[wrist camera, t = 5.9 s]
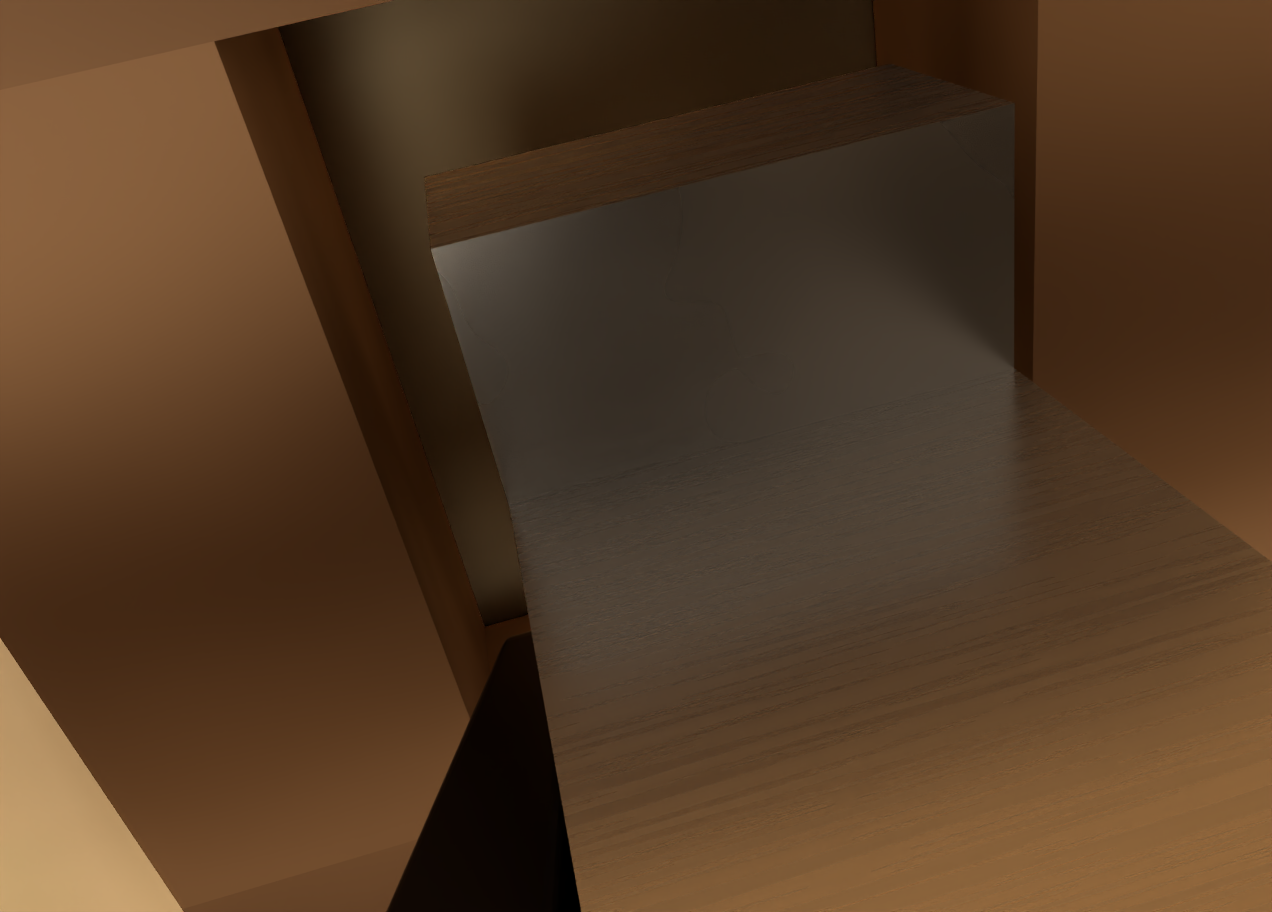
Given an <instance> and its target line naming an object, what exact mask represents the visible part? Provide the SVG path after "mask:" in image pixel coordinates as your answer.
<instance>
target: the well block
mask: <svg viewBox="0 0 1272 912" xmlns="http://www.w3.org/2000/svg"><path fill="white" fill-rule="evenodd" d="M389 1H393V0H0V638H1V639H2V641H3V642H4V644H5V645H6V647H7V648H8V650H9V651H10V653H11V654H12V656H13V657H14V659H15V660H16V662H17V663H18V665H19V666H20V668H21V669H22V671H23V672H24V674H25V675H26V677H27V678H28V680H29V681H30V683H31V684H32V686H33V687H34V689H35V690H36V692H37V693H38V695H39V696H40V698H41V699H42V701H43V702H44V704H45V705H46V707H47V708H48V710H49V711H50V713H51V714H52V716H53V717H54V719H55V720H56V722H57V723H58V725H59V726H60V728H61V729H62V731H63V732H64V733H65V735H66V736H67V738H68V739H69V741H70V742H71V744H72V745H73V747H74V748H75V750H76V751H77V753H78V754H79V756H80V757H81V759H82V760H83V762H84V763H85V765H86V766H87V768H88V769H89V771H90V772H91V774H92V775H93V777H94V778H95V780H96V781H97V783H98V784H99V786H100V787H101V789H102V790H103V792H104V793H105V795H106V796H107V798H108V799H109V801H110V802H111V804H112V805H113V807H114V808H115V810H116V811H117V813H118V814H119V816H120V817H121V819H122V820H123V822H124V823H125V825H126V826H127V828H128V829H129V831H130V832H131V834H132V835H133V837H134V838H135V839H136V841H137V842H138V844H139V845H140V847H141V848H142V850H143V851H144V853H145V854H146V856H147V857H148V859H149V860H150V862H151V863H152V865H153V866H154V868H155V869H156V871H157V872H158V874H159V875H160V877H161V878H162V880H163V881H164V883H165V884H166V886H167V887H168V889H169V890H170V892H171V893H172V895H173V896H174V898H175V899H176V901H177V902H178V904H179V905H180V907H181V908H182V910H183V911H184V912H386V911H387V909H388V906H389V904H390V902H391V900H392V897H393V895H394V893H395V890H396V888H397V886H398V884H399V881H400V879H401V877H402V874H403V872H404V870H405V867H406V865H407V863H408V861H409V858H410V856H411V854H412V851H413V849H414V847H415V845H416V842H417V840H418V838H419V835H420V833H421V831H422V828H423V826H424V824H425V822H426V819H427V817H428V815H429V812H430V810H431V808H432V806H433V803H434V801H435V799H436V796H437V794H438V792H439V789H440V787H441V785H442V783H443V780H444V778H445V776H446V773H447V771H448V769H449V767H450V764H451V762H452V760H453V757H454V755H455V753H456V750H457V748H458V746H459V744H460V741H461V739H462V737H463V734H464V732H465V730H466V728H467V725H468V723H469V721H470V718H471V716H472V714H473V711H474V709H475V707H476V705H477V702H478V700H479V698H480V695H481V693H482V691H483V688H484V686H485V684H486V682H487V679H488V677H489V675H490V672H491V670H492V668H493V666H494V663H495V661H496V659H497V656H498V654H499V652H500V649H501V647H502V645H503V643H504V641H505V640H506V639H507V638H509V637H511V636H514V635H517V634H521V633H524V632H528V631H531V627H530V621H529V615H525V616H522V617H518V618H515V619H511V620H508V621H504V622H500V623H497V624H493V625H490V626H486V627H485V626H484V623H483V620H482V618H481V615H480V612H479V609H478V606H477V603H476V600H475V597H474V594H473V591H472V589H471V586H470V583H469V580H468V577H467V574H466V571H465V568H464V565H463V562H462V560H461V557H460V554H459V551H458V548H457V545H456V542H455V539H454V536H453V533H452V531H451V528H450V525H449V522H448V519H447V516H446V513H445V510H444V507H443V504H442V502H441V499H440V496H439V493H438V490H437V487H436V484H435V481H434V478H433V475H432V473H431V470H430V467H429V464H428V461H427V458H426V455H425V452H424V449H423V446H422V444H421V441H420V438H419V435H418V432H417V429H416V426H415V423H414V420H413V417H412V415H411V412H410V409H409V406H408V403H407V400H406V397H405V394H404V391H403V388H402V386H401V383H400V380H399V377H398V374H397V371H396V368H395V365H394V362H393V359H392V357H391V354H390V351H389V348H388V345H387V342H386V339H385V336H384V333H383V330H382V328H381V325H380V322H379V319H378V316H377V313H376V310H375V307H374V304H373V302H372V299H371V296H370V293H369V290H368V287H367V284H366V281H365V278H364V275H363V273H362V270H361V267H360V264H359V261H358V258H357V255H356V252H355V249H354V246H353V244H352V241H351V238H350V235H349V232H348V229H347V226H346V223H345V220H344V217H343V215H342V212H341V209H340V206H339V203H338V200H337V197H336V194H335V191H334V188H333V186H332V183H331V180H330V177H329V174H328V171H327V168H326V165H325V162H324V159H323V157H322V154H321V151H320V148H319V145H318V142H317V139H316V136H315V133H314V130H313V128H312V125H311V122H310V119H309V116H308V113H307V110H306V107H305V104H304V101H303V99H302V96H301V93H300V90H299V87H298V84H297V81H296V78H295V75H294V72H293V70H292V67H291V64H290V61H289V58H288V55H287V52H286V49H285V46H284V43H283V41H282V38H281V35H280V32H279V29H278V27H279V26H284V25H288V24H292V23H297V22H301V21H306V20H310V19H314V18H319V17H323V16H327V15H332V14H336V13H341V12H345V11H349V10H354V9H358V8H363V7H367V6H371V5H376V4H380V3H385V2H389ZM873 9H874V25H875V41H876V57H877V66H881V65H886V64H894V65H897V66H900V67H903V68H906V69H909V70H912V71H916V72H919V73H922V74H925V75H928V76H931V77H934V78H938V79H941V80H944V81H947V82H950V83H953V84H956V85H960V86H963V87H966V88H969V89H972V90H975V91H978V92H982V93H985V94H988V95H991V96H994V97H997V98H1000V99H1004V100H1007V101H1010V102H1013V103H1015V141H1014V368H1015V369H1016V370H1017V371H1019V372H1020V373H1021V374H1023V375H1024V376H1025V377H1027V378H1028V379H1029V380H1031V381H1032V382H1033V383H1035V384H1036V385H1037V386H1039V387H1040V388H1041V389H1043V390H1044V391H1045V392H1047V393H1048V394H1049V395H1051V396H1052V397H1053V398H1055V399H1056V400H1057V401H1059V402H1060V403H1061V404H1063V405H1064V406H1065V407H1067V408H1068V409H1069V410H1071V411H1072V412H1073V413H1074V414H1076V415H1077V416H1078V417H1080V418H1081V419H1082V420H1084V421H1085V422H1086V423H1088V424H1089V425H1090V426H1092V427H1093V428H1094V429H1096V430H1097V431H1098V432H1100V433H1101V434H1102V435H1104V436H1105V437H1106V438H1108V439H1109V440H1110V441H1112V442H1113V443H1114V444H1116V445H1117V446H1118V447H1120V448H1121V449H1122V450H1124V451H1125V452H1126V453H1128V454H1129V455H1130V456H1132V457H1133V458H1134V459H1136V460H1137V461H1138V462H1140V463H1141V464H1142V465H1144V466H1145V467H1146V468H1148V469H1149V470H1150V471H1152V472H1153V473H1154V474H1156V475H1157V476H1158V477H1160V478H1161V479H1162V480H1164V481H1165V482H1166V483H1168V484H1169V485H1170V486H1172V487H1173V488H1174V489H1176V490H1177V491H1178V492H1180V493H1181V494H1182V495H1184V496H1185V497H1186V498H1188V499H1189V500H1190V501H1192V502H1193V503H1194V504H1196V505H1197V506H1198V507H1200V508H1201V509H1202V510H1204V511H1205V512H1206V513H1208V514H1209V515H1210V516H1212V517H1213V518H1214V519H1216V520H1217V521H1218V522H1220V523H1221V524H1222V525H1224V526H1225V527H1226V528H1228V529H1229V530H1230V531H1232V532H1233V533H1234V534H1236V535H1237V536H1238V537H1240V538H1241V539H1242V540H1243V541H1245V542H1246V543H1247V544H1249V545H1250V546H1251V547H1253V548H1254V549H1255V550H1257V551H1258V552H1259V553H1261V554H1262V555H1263V556H1265V557H1266V558H1267V559H1269V560H1270V561H1271V562H1272V0H873Z"/></svg>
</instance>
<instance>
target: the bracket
mask: <svg viewBox="0 0 1272 912" xmlns="http://www.w3.org/2000/svg"><path fill="white" fill-rule="evenodd" d="M1014 141H1015V103H1013V102H1010V101H1007V100H1004V99H1000V98H997V97H994V96H991V95H988V94H985V93H982V92H978V91H975V90H972V89H969V88H966V87H963V86H960V85H956V84H953V83H950V82H947V81H944V80H941V79H938V78H934V77H931V76H928V75H925V74H922V73H919V72H916V71H912V70H909V69H906V68H903V67H900V66H897V65H894V64H886V65H881V66H877V67H873V68H869V69H865V70H861V71H857V72H853V73H849V74H845V75H840V76H836V77H832V78H828V79H824V80H820V81H816V82H812V83H808V84H804V85H799V86H795V87H791V88H787V89H783V90H779V91H775V92H771V93H767V94H763V95H759V96H754V97H750V98H746V99H742V100H738V101H734V102H730V103H726V104H722V105H718V106H713V107H709V108H705V109H701V110H697V111H693V112H689V113H685V114H681V115H677V116H672V117H668V118H664V119H660V120H656V121H652V122H648V123H644V124H640V125H636V126H631V127H627V128H623V129H619V130H615V131H611V132H607V133H603V134H599V135H595V136H590V137H586V138H582V139H578V140H574V141H570V142H566V143H562V144H558V145H554V146H550V147H545V148H541V149H537V150H533V151H529V152H525V153H521V154H517V155H513V156H509V157H504V158H500V159H496V160H492V161H488V162H484V163H480V164H476V165H472V166H468V167H463V168H459V169H455V170H451V171H447V172H443V173H439V174H435V175H431V176H427V177H425V190H426V202H427V214H428V226H429V238H430V249H431V253H432V256H433V259H434V262H435V266H436V269H437V272H438V275H439V279H440V282H441V285H442V289H443V292H444V295H445V298H446V302H447V305H448V308H449V311H450V315H451V318H452V321H453V325H454V328H455V331H456V334H457V338H458V341H459V344H460V347H461V351H462V354H463V357H464V361H465V364H466V367H467V370H468V374H469V377H470V380H471V383H472V387H473V390H474V393H475V397H476V400H477V403H478V406H479V410H480V413H481V416H482V419H483V423H484V426H485V429H486V433H487V436H488V439H489V442H490V446H491V449H492V452H493V455H494V459H495V462H496V465H497V468H498V472H499V475H500V478H501V482H502V485H503V488H504V491H505V495H506V498H507V501H508V504H509V509H510V515H511V520H512V526H513V531H514V537H515V543H516V548H517V554H518V559H519V565H520V571H521V576H522V582H523V587H524V593H525V599H526V604H527V610H528V615H529V621H530V627H531V632H532V638H533V643H534V649H535V655H536V660H537V666H538V671H539V677H540V683H541V688H542V694H543V699H544V705H545V711H546V716H547V722H548V727H549V733H550V739H551V744H552V750H553V755H554V761H555V767H556V772H557V778H558V783H559V789H560V795H561V800H562V806H563V811H564V817H565V823H566V828H567V834H568V839H569V845H570V851H571V856H572V862H573V867H574V873H575V879H576V884H577V890H578V895H579V901H580V907H581V912H1272V562H1271V561H1270V560H1269V559H1267V558H1266V557H1265V556H1263V555H1262V554H1261V553H1259V552H1258V551H1257V550H1255V549H1254V548H1253V547H1251V546H1250V545H1249V544H1247V543H1246V542H1245V541H1243V540H1242V539H1241V538H1240V537H1238V536H1237V535H1236V534H1234V533H1233V532H1232V531H1230V530H1229V529H1228V528H1226V527H1225V526H1224V525H1222V524H1221V523H1220V522H1218V521H1217V520H1216V519H1214V518H1213V517H1212V516H1210V515H1209V514H1208V513H1206V512H1205V511H1204V510H1202V509H1201V508H1200V507H1198V506H1197V505H1196V504H1194V503H1193V502H1192V501H1190V500H1189V499H1188V498H1186V497H1185V496H1184V495H1182V494H1181V493H1180V492H1178V491H1177V490H1176V489H1174V488H1173V487H1172V486H1170V485H1169V484H1168V483H1166V482H1165V481H1164V480H1162V479H1161V478H1160V477H1158V476H1157V475H1156V474H1154V473H1153V472H1152V471H1150V470H1149V469H1148V468H1146V467H1145V466H1144V465H1142V464H1141V463H1140V462H1138V461H1137V460H1136V459H1134V458H1133V457H1132V456H1130V455H1129V454H1128V453H1126V452H1125V451H1124V450H1122V449H1121V448H1120V447H1118V446H1117V445H1116V444H1114V443H1113V442H1112V441H1110V440H1109V439H1108V438H1106V437H1105V436H1104V435H1102V434H1101V433H1100V432H1098V431H1097V430H1096V429H1094V428H1093V427H1092V426H1090V425H1089V424H1088V423H1086V422H1085V421H1084V420H1082V419H1081V418H1080V417H1078V416H1077V415H1076V414H1074V413H1073V412H1072V411H1071V410H1069V409H1068V408H1067V407H1065V406H1064V405H1063V404H1061V403H1060V402H1059V401H1057V400H1056V399H1055V398H1053V397H1052V396H1051V395H1049V394H1048V393H1047V392H1045V391H1044V390H1043V389H1041V388H1040V387H1039V386H1037V385H1036V384H1035V383H1033V382H1032V381H1031V380H1029V379H1028V378H1027V377H1025V376H1024V375H1023V374H1021V373H1020V372H1019V371H1017V370H1016V369H1015V368H1014Z"/></svg>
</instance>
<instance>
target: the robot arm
mask: <svg viewBox="0 0 1272 912" xmlns="http://www.w3.org/2000/svg"><path fill="white" fill-rule="evenodd" d="M386 912H581V907H580V901H579V895H578V890H577V884H576V879H575V873H574V867H573V862H572V856H571V851H570V845H569V839H568V834H567V828H566V823H565V817H564V811H563V806H562V800H561V795H560V789H559V783H558V778H557V772H556V767H555V761H554V755H553V750H552V744H551V739H550V733H549V727H548V722H547V716H546V711H545V705H544V699H543V694H542V688H541V683H540V677H539V671H538V666H537V660H536V655H535V649H534V643H533V638H532V632H531V631H528V632H524V633H521V634H517V635H514V636H511V637H509V638H507V639H506V640H505V641H504V643H503V645H502V647H501V649H500V652H499V654H498V656H497V659H496V661H495V663H494V666H493V668H492V670H491V672H490V675H489V677H488V679H487V682H486V684H485V686H484V688H483V691H482V693H481V695H480V698H479V700H478V702H477V705H476V707H475V709H474V711H473V714H472V716H471V718H470V721H469V723H468V725H467V728H466V730H465V732H464V734H463V737H462V739H461V741H460V744H459V746H458V748H457V750H456V753H455V755H454V757H453V760H452V762H451V764H450V767H449V769H448V771H447V773H446V776H445V778H444V780H443V783H442V785H441V787H440V789H439V792H438V794H437V796H436V799H435V801H434V803H433V806H432V808H431V810H430V812H429V815H428V817H427V819H426V822H425V824H424V826H423V828H422V831H421V833H420V835H419V838H418V840H417V842H416V845H415V847H414V849H413V851H412V854H411V856H410V858H409V861H408V863H407V865H406V867H405V870H404V872H403V874H402V877H401V879H400V881H399V884H398V886H397V888H396V890H395V893H394V895H393V897H392V900H391V902H390V904H389V906H388V909H387V911H386Z"/></svg>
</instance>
